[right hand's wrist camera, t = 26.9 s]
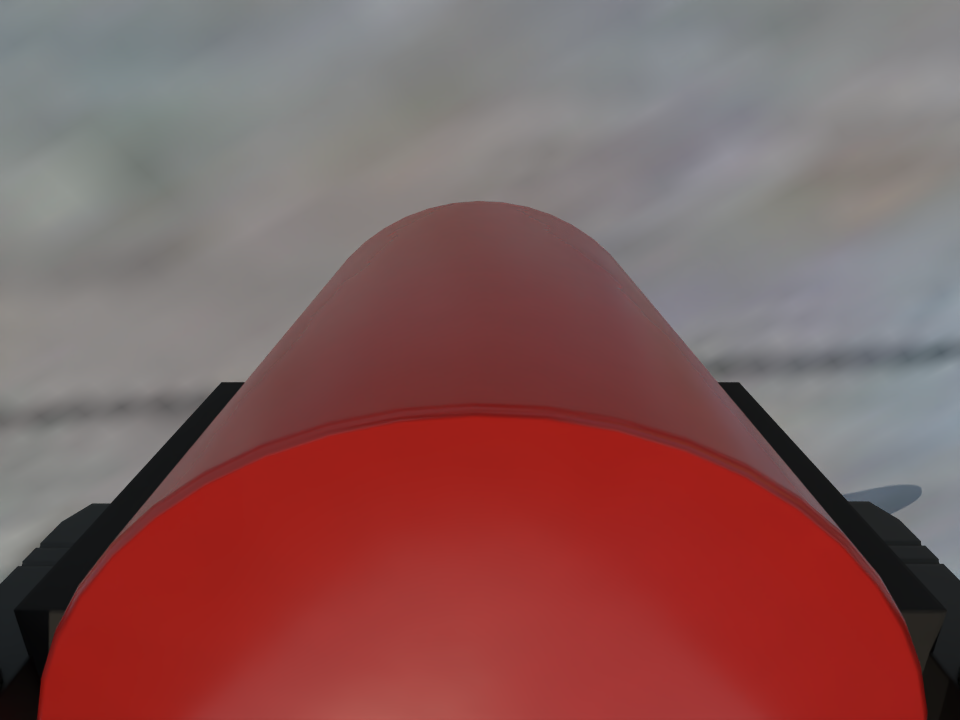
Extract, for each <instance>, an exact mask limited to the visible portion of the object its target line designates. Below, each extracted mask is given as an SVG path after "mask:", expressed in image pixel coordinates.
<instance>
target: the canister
mask: <svg viewBox="0 0 960 720" xmlns="http://www.w3.org/2000/svg"><path fill="white" fill-rule="evenodd" d="M927 714H928V711H927V705H926V698H925V691H924V684H923V677H922V670H921V665H920V661H919V658H918V656H917V653H916V650H915V647H914V644H913V641H912V638H911V636H910V633H909V630H908V627H907V624H906V621H905V619H904V617H903V615H902V613H901V612H900V610H899V608H898V606H897V605H896V603H895V601H894V600H893V598H892V596H891V594H890V593H889V591H888V589H887V587H886V586H885V584H884V582H883V581H882V579H881V577H880V575H879V574H878V573H877V572H876V571H875V569H874V568H873V567H872V566H871V565H870V564H869V562H868V561H867V560H866V559H865V558H864V556H863V555H862V554H861V553H860V552H859V550H858V549H857V548H856V547H855V546H854V544H853V543H852V542H851V541H850V540H849V538H848V537H847V536H846V535H845V534H844V532H843V531H842V530H841V529H840V528H839V527H838V525H837V524H836V523H835V522H834V521H833V519H832V518H831V517H830V516H829V515H828V513H827V512H826V511H825V510H824V509H823V507H822V506H821V505H820V504H819V503H818V501H817V500H816V499H815V498H814V497H813V496H812V494H811V493H810V492H809V491H808V490H807V488H806V487H805V486H804V485H803V484H802V482H801V481H800V480H799V479H798V478H797V476H796V475H795V474H794V473H793V472H792V470H791V469H790V468H789V467H788V466H787V465H786V463H785V462H784V461H783V460H782V459H781V457H780V456H779V455H778V454H777V453H776V451H775V450H774V449H773V448H772V447H771V445H770V444H769V443H768V442H767V441H766V439H765V438H764V437H763V436H762V435H761V434H760V432H759V431H758V430H757V429H756V428H755V426H754V425H753V424H752V423H751V422H750V420H749V419H748V418H747V417H746V416H745V414H744V413H743V412H742V411H741V410H740V408H739V407H738V406H737V405H736V404H735V403H734V401H733V400H732V399H731V398H730V397H729V395H728V394H727V393H726V392H725V391H724V389H723V388H722V387H721V386H720V385H719V383H718V382H717V381H716V380H715V379H714V377H713V376H712V375H711V374H710V373H709V372H708V370H707V369H706V368H705V367H704V366H703V364H702V363H701V362H700V361H699V360H698V358H697V357H696V356H695V355H694V354H693V352H692V351H691V350H690V349H689V348H688V346H687V345H686V344H685V343H684V342H683V340H682V339H681V338H680V337H679V336H678V335H677V333H676V332H675V331H674V330H673V329H672V327H671V326H670V325H669V324H668V323H667V321H666V320H665V319H664V318H663V317H662V315H661V314H660V313H659V312H658V311H657V309H656V308H655V307H654V306H653V305H652V304H651V302H650V301H649V300H648V299H647V298H646V296H645V295H644V294H643V293H642V292H641V290H640V289H639V288H638V287H637V286H636V284H635V283H634V282H633V281H632V280H631V278H630V277H629V276H628V275H627V274H626V273H625V271H624V270H623V269H622V268H621V267H620V265H619V264H618V263H617V262H616V261H615V259H614V258H613V257H612V256H611V255H610V254H609V253H608V252H607V251H606V250H605V249H604V248H603V247H601V246H600V245H599V244H598V243H597V242H596V241H595V240H594V239H592V238H591V237H589V236H588V235H586V234H585V233H583V232H582V231H580V230H579V229H578V228H576V227H575V226H573V225H571V224H569V223H567V222H565V221H563V220H561V219H559V218H557V217H555V216H553V215H550V214H547V213H544V212H541V211H538V210H535V209H532V208H529V207H525V206H520V205H514V204H509V203H504V202H485V201H474V202H461V203H452V204H447V205H443V206H438V207H434V208H429V209H426V210H424V211H421V212H418V213H415V214H413V215H410V216H407V217H405V218H403V219H401V220H399V221H397V222H395V223H394V224H392V225H390V226H388V227H386V228H384V229H383V230H381V231H380V232H379V233H377V234H376V235H374V236H373V237H372V238H370V239H369V240H367V241H366V242H365V243H364V244H363V245H362V246H361V247H360V248H359V249H357V250H356V251H355V252H354V253H353V254H352V255H351V256H350V257H349V258H348V259H347V260H346V262H345V263H344V264H343V265H342V266H341V268H340V269H339V270H338V271H337V272H336V274H335V275H334V276H333V277H332V278H331V280H330V281H329V282H328V283H327V284H326V286H325V287H324V288H323V289H322V290H321V292H320V293H319V294H318V295H317V296H316V298H315V299H314V300H313V301H312V302H311V304H310V305H309V306H308V307H307V309H306V310H305V311H304V312H303V313H302V315H301V316H300V317H299V318H298V319H297V321H296V322H295V323H294V324H293V325H292V327H291V328H290V329H289V330H288V331H287V333H286V334H285V335H284V336H283V337H282V339H281V340H280V341H279V342H278V343H277V345H276V346H275V347H274V348H273V349H272V351H271V352H270V353H269V354H268V355H267V357H266V358H265V359H264V360H263V361H262V363H261V364H260V365H259V366H258V367H257V369H256V370H255V371H254V372H253V373H252V375H251V376H250V377H249V378H248V379H247V381H246V382H245V383H244V384H243V385H242V387H241V388H240V389H239V390H238V392H237V393H236V394H235V395H234V396H233V398H232V399H231V400H230V401H229V402H228V404H227V405H226V406H225V407H224V408H223V410H222V411H221V412H220V413H219V414H218V416H217V417H216V418H215V419H214V420H213V422H212V423H211V424H210V425H209V426H208V428H207V429H206V430H205V431H204V432H203V434H202V435H201V436H200V437H199V438H198V440H197V441H196V442H195V443H194V444H193V446H192V447H191V448H190V449H189V450H188V452H187V453H186V454H185V455H184V456H183V458H182V459H181V460H180V461H179V462H178V464H177V465H176V466H175V467H174V468H173V470H172V471H171V472H170V473H169V475H168V476H167V477H166V478H165V479H164V481H163V482H162V483H161V484H160V485H159V487H158V488H157V489H156V490H155V491H154V493H153V494H152V495H151V496H150V497H149V499H148V500H147V501H146V502H145V503H144V505H143V506H142V507H141V508H140V509H139V511H138V512H137V513H136V514H135V515H134V517H133V518H132V519H131V520H130V521H129V523H128V524H127V525H126V526H125V527H124V529H123V530H122V531H121V532H120V533H119V535H118V536H117V537H116V538H115V539H114V541H113V542H112V543H111V544H110V546H109V547H108V548H107V549H106V551H105V552H104V553H103V555H102V556H101V557H100V558H99V560H98V561H97V562H96V564H95V565H94V566H93V567H92V569H91V570H90V571H89V573H88V574H87V575H86V576H85V578H84V579H83V580H82V582H81V583H80V584H79V585H78V587H77V589H76V591H75V593H74V595H73V597H72V599H71V601H70V603H69V604H68V606H67V608H66V610H65V612H64V614H63V616H62V618H61V620H60V622H59V624H58V625H57V627H56V630H55V633H54V636H53V639H52V643H51V646H50V649H49V653H48V656H47V659H46V663H45V666H44V669H43V672H42V677H41V685H40V695H39V705H38V714H37V720H927Z"/></svg>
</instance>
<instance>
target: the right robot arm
mask: <svg viewBox="0 0 960 720" xmlns="http://www.w3.org/2000/svg"><path fill="white" fill-rule="evenodd" d="M244 383H245V382H221V383H220V385H219V386H218V387H217V388H216V389H215V390H214V391H213V392H212V393H211V394H210V395H209V397H208V398H207V399H206V400H205V401H204V402H203V403H202V404H201V405H200V406H199V408H198V409H197V410H196V411H195V412H194V413H193V414H192V415H191V416H190V417H189V418H188V420H187V421H186V422H185V423H184V424H183V425H182V426H181V427H180V428H179V429H178V430H177V432H176V433H175V434H174V435H173V436H172V437H171V438H170V439H169V440H168V441H167V443H166V444H165V445H164V446H163V447H162V448H161V449H160V450H159V451H158V452H157V453H156V455H155V456H154V457H153V458H152V459H151V460H150V461H149V462H148V463H147V464H146V466H145V467H144V468H143V469H142V470H141V471H140V472H139V473H138V474H137V475H136V476H135V478H134V479H133V480H132V481H131V482H130V483H129V484H128V485H127V486H126V487H125V488H124V490H123V491H122V492H121V493H120V494H119V495H118V496H117V497H116V498H115V499H114V501H113V502H112V503H111V504H91V505H89V506H87V507H86V508H84V509H82V510H81V511H79V512H77V513H76V514H74V515H72V516H71V517H69V518H67V519H66V520H64V521H63V522H61V523H60V524H59V525H58V526H57V527H56V528H55V529H54V530H53V531H52V532H51V533H50V534H49V535H48V536H47V537H46V538H45V539H44V540H43V541H42V542H41V543H40V548H35V549H34V550H33V551H32V552H31V553H30V554H29V556H28V557H27V558H26V559H25V560H24V561H23V564H22V566H18V567H17V568H16V569H15V570H14V571H13V572H12V573H11V574H10V575H9V576H8V577H7V578H6V579H5V580H4V581H3V582H2V583H1V584H0V720H37V714H38V705H39V695H40V685H41V677H42V672H43V669H44V666H45V663H46V659H47V656H48V653H49V649H50V646H51V643H52V639H53V636H54V633H55V630H56V627H57V625H58V624H59V622H60V620H61V618H62V616H63V614H64V612H65V610H66V608H67V606H68V604H69V603H70V601H71V599H72V597H73V595H74V593H75V591H76V589H77V587H78V585H79V584H80V583H81V582H82V580H83V579H84V578H85V576H86V575H87V574H88V573H89V571H90V570H91V569H92V567H93V566H94V565H95V564H96V562H97V561H98V560H99V558H100V557H101V556H102V555H103V553H104V552H105V551H106V549H107V548H108V547H109V546H110V544H111V543H112V542H113V541H114V539H115V538H116V537H117V536H118V535H119V533H120V532H121V531H122V530H123V529H124V527H125V526H126V525H127V524H128V523H129V521H130V520H131V519H132V518H133V517H134V515H135V514H136V513H137V512H138V511H139V509H140V508H141V507H142V506H143V505H144V503H145V502H146V501H147V500H148V499H149V497H150V496H151V495H152V494H153V493H154V491H155V490H156V489H157V488H158V487H159V485H160V484H161V483H162V482H163V481H164V479H165V478H166V477H167V476H168V475H169V473H170V472H171V471H172V470H173V468H174V467H175V466H176V465H177V464H178V462H179V461H180V460H181V459H182V458H183V456H184V455H185V454H186V453H187V452H188V450H189V449H190V448H191V447H192V446H193V444H194V443H195V442H196V441H197V440H198V438H199V437H200V436H201V435H202V434H203V432H204V431H205V430H206V429H207V428H208V426H209V425H210V424H211V423H212V422H213V420H214V419H215V418H216V417H217V416H218V414H219V413H220V412H221V411H222V410H223V408H224V407H225V406H226V405H227V404H228V402H229V401H230V400H231V399H232V398H233V396H234V395H235V394H236V393H237V392H238V390H239V389H240V388H241V387H242V385H243V384H244ZM718 383H719V385H720V386H721V387H722V388H723V389H724V391H725V392H726V393H727V394H728V395H729V397H730V398H731V399H732V400H733V401H734V403H735V404H736V405H737V406H738V407H739V408H740V410H741V411H742V412H743V413H744V414H745V416H746V417H747V418H748V419H749V420H750V422H751V423H752V424H753V425H754V426H755V428H756V429H757V430H758V431H759V432H760V434H761V435H762V436H763V437H764V438H765V439H766V441H767V442H768V443H769V444H770V445H771V447H772V448H773V449H774V450H775V451H776V453H777V454H778V455H779V456H780V457H781V459H782V460H783V461H784V462H785V463H786V465H787V466H788V467H789V468H790V469H791V470H792V472H793V473H794V474H795V475H796V476H797V478H798V479H799V480H800V481H801V482H802V484H803V485H804V486H805V487H806V488H807V490H808V491H809V492H810V493H811V494H812V496H813V497H814V498H815V499H816V500H817V501H818V503H819V504H820V505H821V506H822V507H823V509H824V510H825V511H826V512H827V513H828V515H829V516H830V517H831V518H832V519H833V521H834V522H835V523H836V524H837V525H838V527H839V528H840V529H841V530H842V531H843V532H844V534H845V535H846V536H847V537H848V538H849V540H850V541H851V542H852V543H853V544H854V546H855V547H856V548H857V549H858V550H859V552H860V553H861V554H862V555H863V556H864V558H865V559H866V560H867V561H868V562H869V564H870V565H871V566H872V567H873V568H874V569H875V571H876V572H877V573H878V574H879V575H880V577H881V579H882V581H883V582H884V584H885V586H886V587H887V589H888V591H889V593H890V594H891V596H892V598H893V600H894V601H895V603H896V605H897V606H898V608H899V610H900V612H901V613H902V615H903V617H904V619H905V621H906V624H907V627H908V630H909V633H910V636H911V638H912V641H913V644H914V647H915V650H916V653H917V656H918V658H919V661H920V665H921V670H922V677H923V684H924V691H925V698H926V705H927V711H928V714H927V720H960V580H959V579H958V578H957V577H956V576H955V575H954V574H953V573H952V572H951V571H950V570H949V569H948V568H947V567H946V566H945V565H944V564H939V559H938V558H937V557H936V556H935V555H934V554H933V553H932V552H931V551H930V550H929V549H928V548H927V547H926V546H922V545H921V541H920V540H919V539H918V538H917V537H916V536H915V535H914V534H913V533H912V532H911V531H910V530H909V529H908V528H907V527H906V526H905V525H904V524H903V523H902V522H901V521H900V520H899V519H897V518H895V517H894V516H892V515H890V514H889V513H887V512H885V511H884V510H882V509H880V508H879V507H877V506H875V505H874V504H872V503H870V502H848V501H847V500H846V499H845V498H844V497H843V496H842V495H841V493H840V492H839V491H838V490H837V489H836V488H835V487H834V486H833V485H832V484H831V483H830V481H829V480H828V479H827V478H826V477H825V476H824V475H823V474H822V473H821V472H820V471H819V469H818V468H817V467H816V466H815V465H814V464H813V463H812V462H811V461H810V460H809V458H808V457H807V456H806V455H805V454H804V453H803V452H802V451H801V450H800V449H799V448H798V446H797V445H796V444H795V443H794V442H793V441H792V440H791V439H790V438H789V437H788V435H787V434H786V433H785V432H784V431H783V430H782V429H781V428H780V427H779V426H778V425H777V423H776V422H775V421H774V420H773V419H772V418H771V417H770V416H769V415H768V414H767V413H766V411H765V410H764V409H763V408H762V407H761V406H760V405H759V404H758V403H757V402H756V400H755V399H754V398H753V397H752V396H751V395H750V394H749V393H748V392H747V391H746V390H745V388H744V387H743V386H742V385H741V384H740V383H739V382H718Z"/></svg>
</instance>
